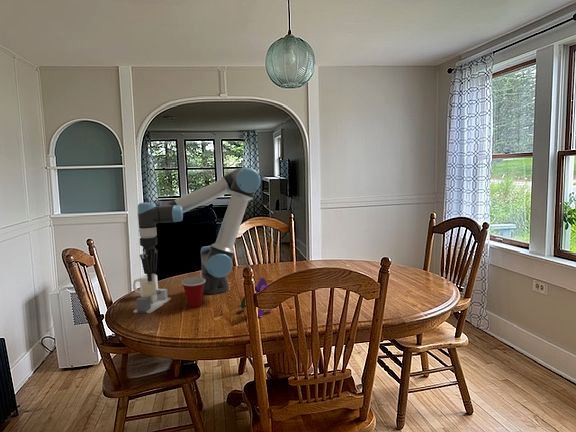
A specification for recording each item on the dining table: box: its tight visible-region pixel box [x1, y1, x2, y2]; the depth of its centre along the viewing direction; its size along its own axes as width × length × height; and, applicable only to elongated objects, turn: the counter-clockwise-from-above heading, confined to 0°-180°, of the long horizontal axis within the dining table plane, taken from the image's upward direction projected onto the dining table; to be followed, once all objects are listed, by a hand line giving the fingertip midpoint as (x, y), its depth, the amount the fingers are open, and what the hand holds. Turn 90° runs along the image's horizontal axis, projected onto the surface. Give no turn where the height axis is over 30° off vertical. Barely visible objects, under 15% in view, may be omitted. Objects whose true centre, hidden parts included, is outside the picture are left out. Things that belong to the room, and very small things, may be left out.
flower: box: [240, 277, 272, 317], centre depth 185 cm, size 15×15×14 cm
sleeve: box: [143, 282, 157, 304], centre depth 197 cm, size 4×5×9 cm
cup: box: [132, 273, 159, 297], centre depth 215 cm, size 8×12×10 cm
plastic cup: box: [180, 276, 206, 309], centre depth 196 cm, size 11×11×12 cm
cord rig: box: [133, 288, 172, 314], centre depth 199 cm, size 20×8×6 cm, turn 170°
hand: (151, 287), depth 199 cm, fingers closed
